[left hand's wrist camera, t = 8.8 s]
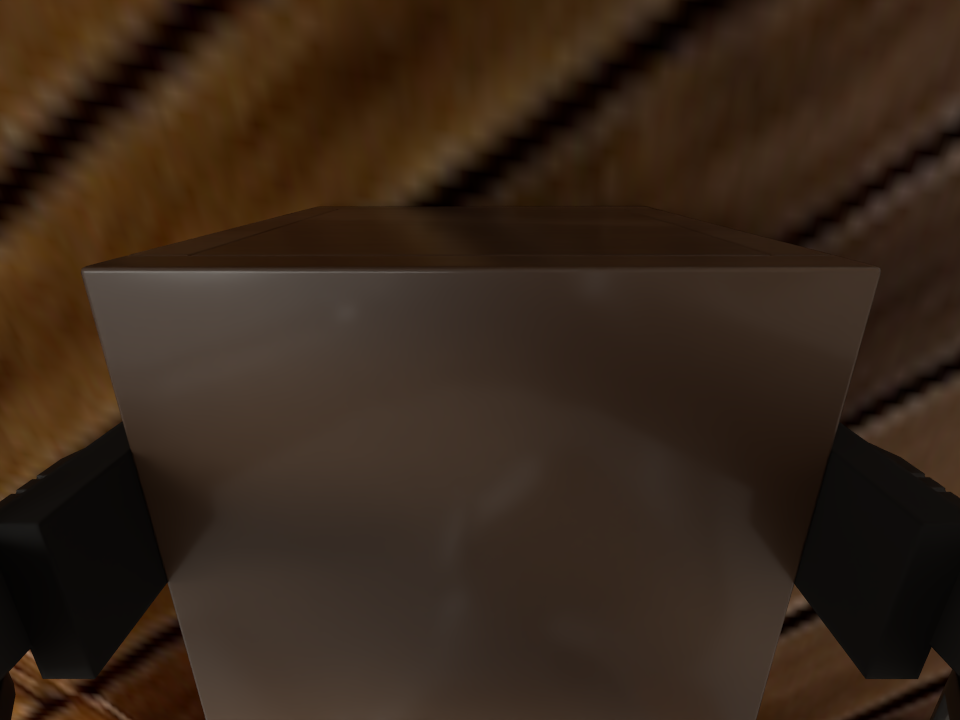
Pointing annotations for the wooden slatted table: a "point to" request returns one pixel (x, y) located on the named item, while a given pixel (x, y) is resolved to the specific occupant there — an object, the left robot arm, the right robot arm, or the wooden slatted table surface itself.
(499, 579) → the cabinet
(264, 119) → the wooden slatted table surface
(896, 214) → the wooden slatted table surface
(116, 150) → the wooden slatted table surface
